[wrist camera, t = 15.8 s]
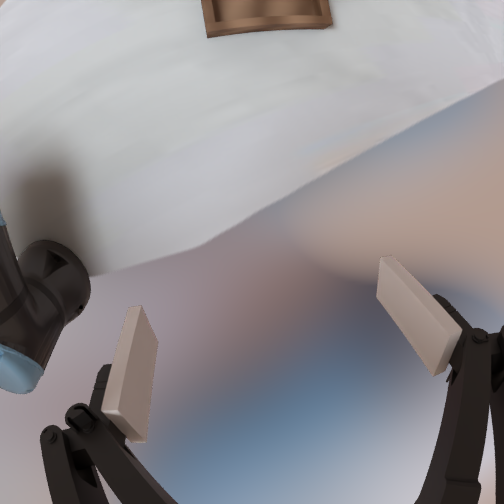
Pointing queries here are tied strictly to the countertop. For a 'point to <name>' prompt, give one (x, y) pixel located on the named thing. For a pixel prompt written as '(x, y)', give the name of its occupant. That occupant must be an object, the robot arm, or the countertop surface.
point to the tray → (263, 15)
